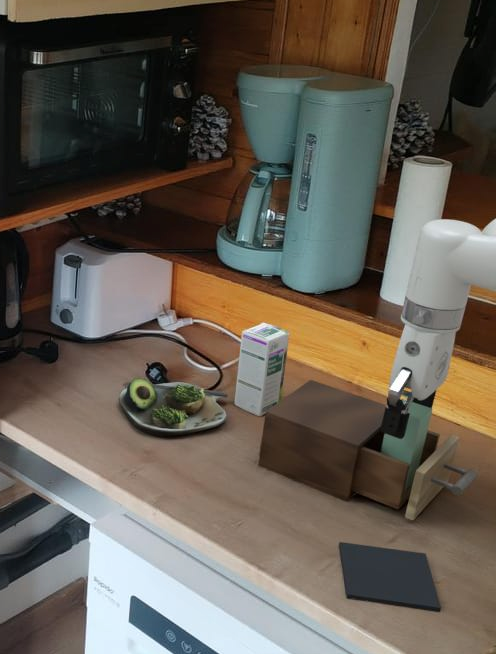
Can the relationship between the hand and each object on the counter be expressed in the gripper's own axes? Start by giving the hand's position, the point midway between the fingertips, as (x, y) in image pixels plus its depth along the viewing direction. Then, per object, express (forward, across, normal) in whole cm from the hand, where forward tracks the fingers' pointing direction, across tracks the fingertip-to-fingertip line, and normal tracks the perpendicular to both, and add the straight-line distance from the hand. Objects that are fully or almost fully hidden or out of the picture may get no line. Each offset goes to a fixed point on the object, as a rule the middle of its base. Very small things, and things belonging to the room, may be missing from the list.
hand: (405, 422), depth 130 cm
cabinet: (+12, 0, +11) cm, 16 cm away
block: (+10, 0, 0) cm, 10 cm away
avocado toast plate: (+12, -3, +38) cm, 40 cm away
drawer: (+11, 0, -1) cm, 11 cm away
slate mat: (+12, -20, -8) cm, 24 cm away
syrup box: (+12, +10, +28) cm, 32 cm away
